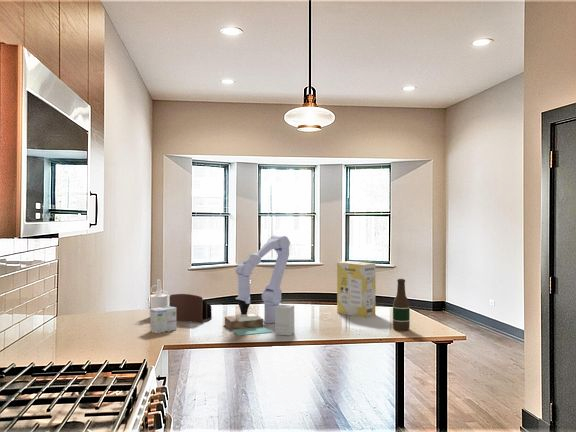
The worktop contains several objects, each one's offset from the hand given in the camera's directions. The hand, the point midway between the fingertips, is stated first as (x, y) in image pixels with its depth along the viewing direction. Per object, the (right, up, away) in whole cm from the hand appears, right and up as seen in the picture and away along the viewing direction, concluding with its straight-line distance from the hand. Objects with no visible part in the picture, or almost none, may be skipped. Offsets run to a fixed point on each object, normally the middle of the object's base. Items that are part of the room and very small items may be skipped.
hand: (244, 316), depth 247 cm
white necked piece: (-47, -5, +22) cm, 52 cm away
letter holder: (-29, -5, +15) cm, 33 cm away
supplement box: (+20, -5, -15) cm, 26 cm away
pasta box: (+59, -5, +30) cm, 66 cm away
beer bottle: (+75, -5, -8) cm, 76 cm away
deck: (0, -5, 0) cm, 5 cm away
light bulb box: (-37, -5, -9) cm, 39 cm away
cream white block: (+1, -1, -4) cm, 4 cm away
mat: (+5, -5, -11) cm, 13 cm away
